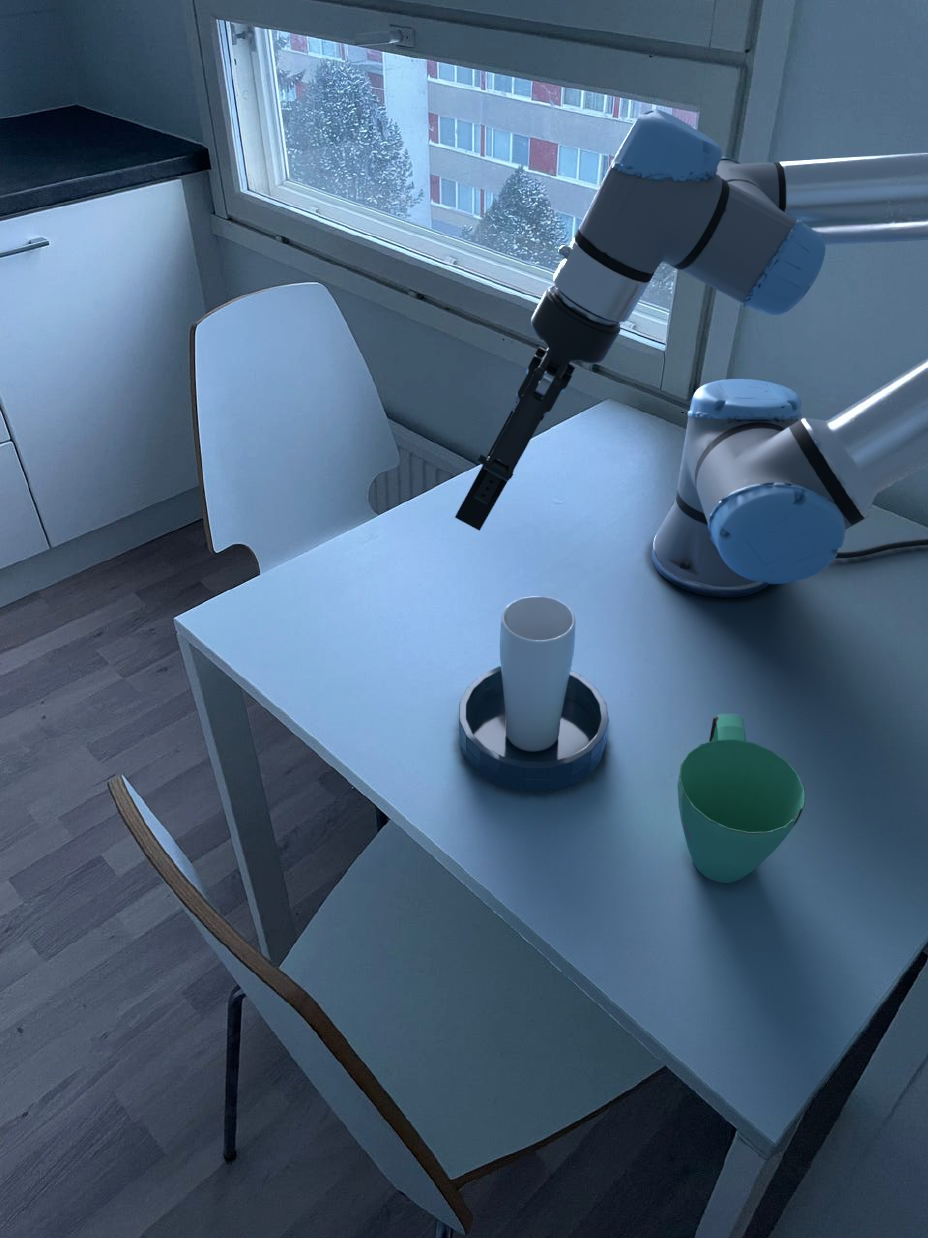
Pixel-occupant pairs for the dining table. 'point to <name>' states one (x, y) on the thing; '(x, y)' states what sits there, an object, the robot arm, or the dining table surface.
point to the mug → (735, 801)
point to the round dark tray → (527, 769)
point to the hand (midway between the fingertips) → (482, 492)
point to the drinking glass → (535, 669)
